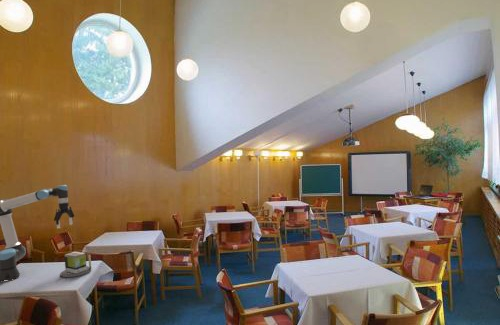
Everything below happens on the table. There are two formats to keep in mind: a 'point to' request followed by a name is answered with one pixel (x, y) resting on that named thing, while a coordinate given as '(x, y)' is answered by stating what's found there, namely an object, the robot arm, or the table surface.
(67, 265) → the tea box
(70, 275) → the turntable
